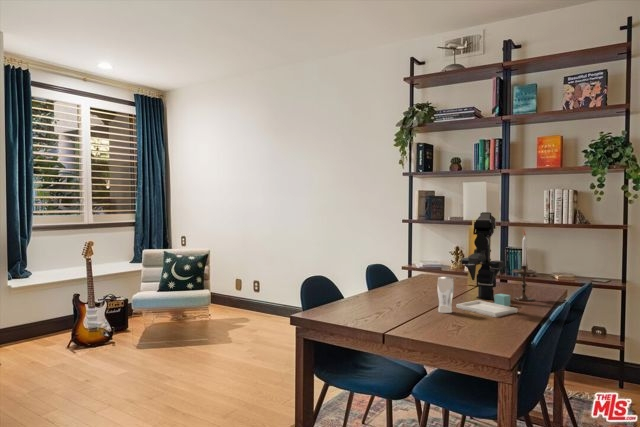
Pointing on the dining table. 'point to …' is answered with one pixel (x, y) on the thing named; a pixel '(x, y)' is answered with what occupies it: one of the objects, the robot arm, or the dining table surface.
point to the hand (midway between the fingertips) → (482, 281)
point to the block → (502, 299)
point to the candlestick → (524, 273)
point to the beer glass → (445, 294)
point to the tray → (487, 308)
